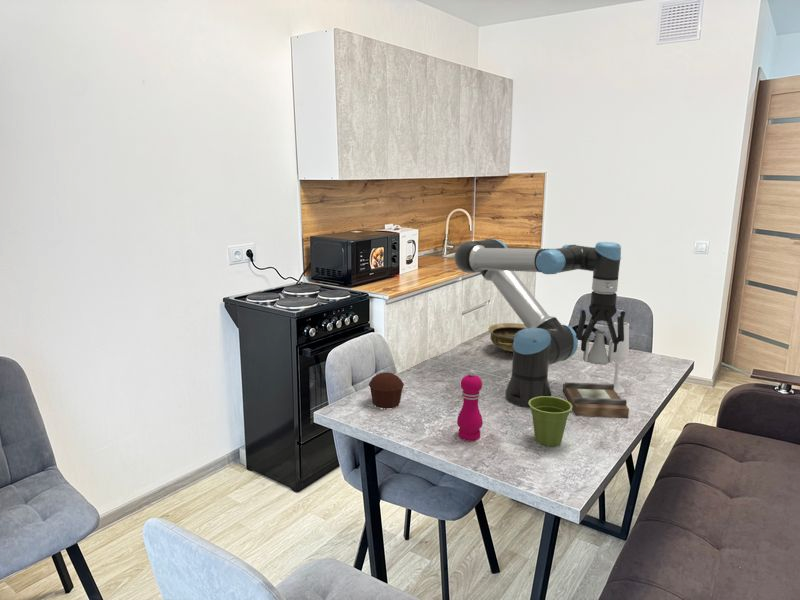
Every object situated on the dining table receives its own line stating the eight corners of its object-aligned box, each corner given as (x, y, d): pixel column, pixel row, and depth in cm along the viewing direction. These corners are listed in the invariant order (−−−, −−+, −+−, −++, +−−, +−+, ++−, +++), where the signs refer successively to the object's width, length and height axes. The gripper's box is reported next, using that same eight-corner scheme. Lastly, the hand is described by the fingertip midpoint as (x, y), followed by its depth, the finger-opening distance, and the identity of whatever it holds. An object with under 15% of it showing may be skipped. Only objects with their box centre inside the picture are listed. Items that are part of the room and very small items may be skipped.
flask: (583, 363, 179) (586, 333, 177) (587, 356, 186) (590, 327, 183) (607, 366, 176) (610, 336, 174) (610, 360, 182) (613, 330, 180)
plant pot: (544, 428, 166) (546, 392, 164) (578, 443, 157) (581, 406, 155) (517, 438, 159) (519, 401, 157) (550, 455, 150) (553, 416, 148)
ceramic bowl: (528, 368, 217) (530, 343, 215) (474, 356, 231) (475, 333, 229) (556, 349, 241) (557, 327, 239) (505, 339, 255) (506, 318, 253)
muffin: (411, 404, 182) (411, 375, 180) (385, 413, 175) (385, 383, 173) (386, 393, 191) (387, 365, 189) (361, 402, 184) (361, 373, 181)
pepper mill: (451, 435, 161) (453, 369, 156) (467, 428, 166) (469, 364, 161) (471, 444, 156) (474, 376, 151) (486, 436, 161) (490, 370, 156)
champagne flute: (606, 384, 201) (612, 320, 196) (626, 388, 198) (633, 322, 193) (603, 390, 196) (609, 324, 190) (623, 394, 193) (630, 327, 187)
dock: (575, 415, 175) (576, 402, 174) (562, 391, 194) (563, 379, 193) (628, 418, 174) (629, 404, 173) (609, 393, 193) (610, 381, 192)
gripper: (574, 293, 173) (568, 363, 178) (641, 295, 171) (633, 366, 176) (569, 288, 180) (563, 356, 185) (633, 290, 178) (625, 358, 184)
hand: (597, 361), depth 181 cm, fingers closed on flask, 7 cm apart
